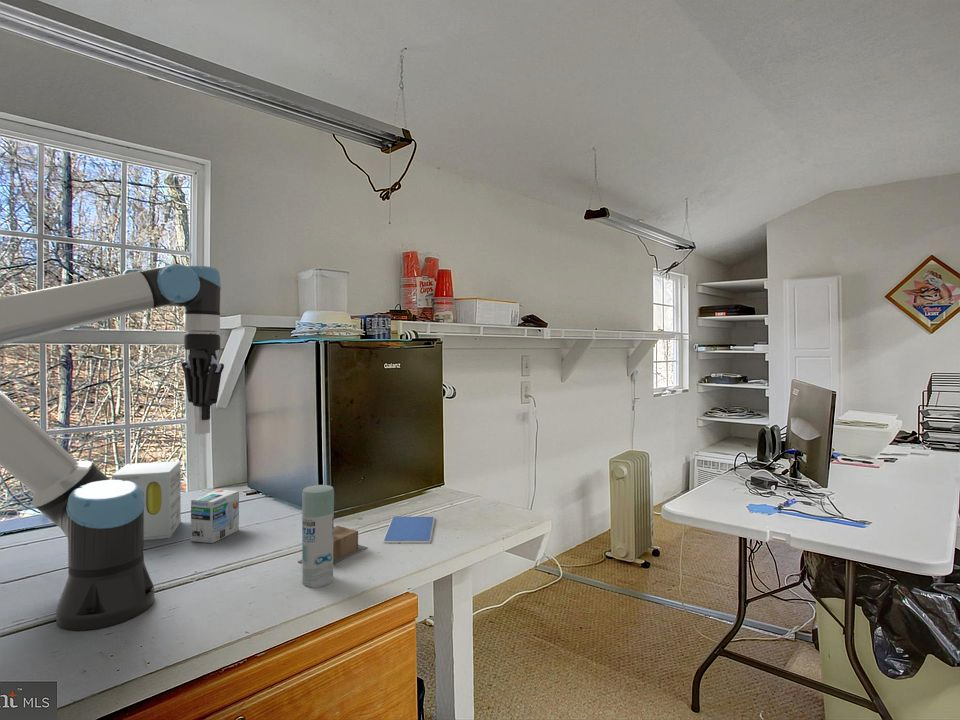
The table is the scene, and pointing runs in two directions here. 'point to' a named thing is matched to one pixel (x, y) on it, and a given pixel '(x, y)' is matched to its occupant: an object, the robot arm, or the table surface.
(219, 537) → the light bulb box
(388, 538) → the tablet computer
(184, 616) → the table surface
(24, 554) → the table surface
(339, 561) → the mat
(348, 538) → the walnut block
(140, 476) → the supplement box
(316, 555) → the spray paint can
